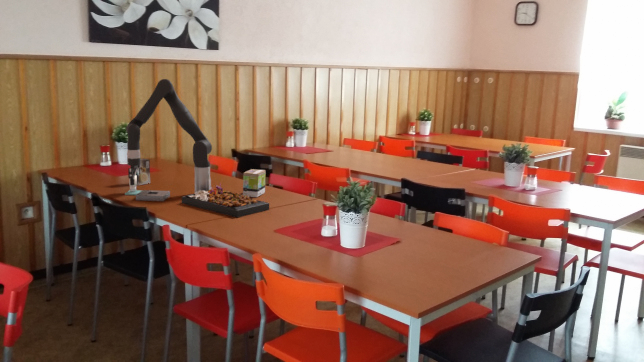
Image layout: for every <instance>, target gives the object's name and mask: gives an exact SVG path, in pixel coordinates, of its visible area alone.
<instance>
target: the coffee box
mask: <svg viewBox="0 0 644 362" xmlns="http://www.w3.org/2000/svg"><path fill="white" fill-rule="evenodd" d="M140 159H141V164H140V174H139V182H137V186H141V185H143V186H144V185H149V184H151V164H150V163H151V162H150V159H148V158H140ZM148 183H149V184H148Z"/></svg>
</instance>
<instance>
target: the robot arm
mask: <svg viewBox="0 0 644 362" xmlns="http://www.w3.org/2000/svg"><path fill="white" fill-rule="evenodd" d="M163 99H164V100H165V102H166V103H167V104H168V106H169V107H170V110H171V112H172V115H173V117H174V118H175V120H176V122H177V123H178V124H179V126H180V127H181V128H182V130H184V132H186V133H187V134H188V135H189V136H190V137H191V138H192V139H193V141H194V143H193V146H192V162H193V165H194V194H195V193H196V192H198V191H203V190H204V191H209V190H211V187H212V178H211V163H210V161H209V159H208V155H209V154H210V153H211V152H212V150H213V147H212V144H211V141H210V139H208V138H207V136H206V135H205V134H204V132H203V131H202V130H201V128H200V126H199V125H198V123H197V122H196V120H195V118H194V117H193V115H192V113H191V111H190V109H188V107H187V106H186V104H184V103H183V101H182V100H181V99H180V98H179V96H178V94H177V92H176V89H175V87H174V85H173V83H172V82H171V80H170V79H167V78H163V79H160V80H159V81H158V82H157V84H156V86H155V88H154V90H153V92H152V93H151V95H150V97H148V99H147V101H146V102H145V103H144V105H143V106H142V107H141V108H140V110H139V111H138V113H136V115H135V116H134V117H133V118H132V119H130V121H129V123H128V124H127V125H126V127H125V130H126V133H127V142H126V145H127V146H126V148H127V153H126V156H127V157H126V158H127V159H126V160H127V161H126V163H127V166H130V167H129V168H128V170H127V174H128V177H127V178H128V179H129V178H130V185H134V177H135V175H137V182H139V174H140V164H141V159H142V158H141V146H140V140H141V128H142V127H143V126H144V124H146V123H147V122H148V121H149V119H151V117H152V115H153V114H154V112H155V111H156V109H157V107H158V106H159V104H160V102H162V100H163ZM130 185H129V186H130ZM210 185H211V186H210Z"/></svg>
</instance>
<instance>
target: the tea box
mask: <svg viewBox="0 0 644 362" xmlns="http://www.w3.org/2000/svg"><path fill="white" fill-rule="evenodd" d="M266 174H267V173H266V169H256V168H255V169H254V168H253V169H252V168H250V169H249V170H246V171H245V172H243V176H242V177H243V178H242V182H243V183H242V195H248V196H249V198H251V197H252V198H258V197H259V196H262V195H263V194H265V193H266Z"/></svg>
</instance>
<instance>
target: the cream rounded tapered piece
mask: <svg viewBox="0 0 644 362" xmlns="http://www.w3.org/2000/svg"><path fill="white" fill-rule="evenodd" d="M128 179H129V180H128V181H129V183H128V185H129V190H130V192H136V190H137V186H138V185H137V175H135V177H134V185H130V178H128Z"/></svg>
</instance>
